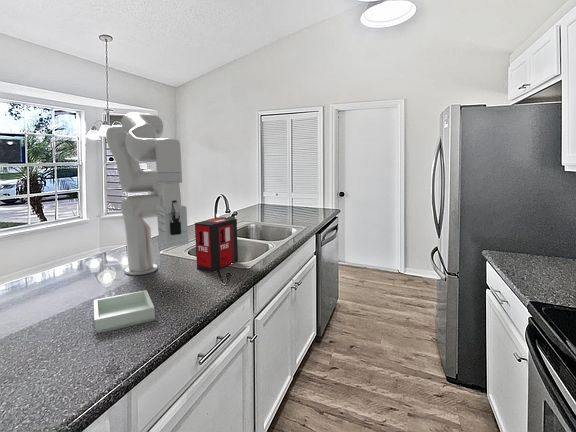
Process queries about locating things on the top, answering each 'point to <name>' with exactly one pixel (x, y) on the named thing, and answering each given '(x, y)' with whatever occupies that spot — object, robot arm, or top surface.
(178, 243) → the supplement box
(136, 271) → the robot arm
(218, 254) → the cleaning product box
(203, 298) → the top surface
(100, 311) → the tray
